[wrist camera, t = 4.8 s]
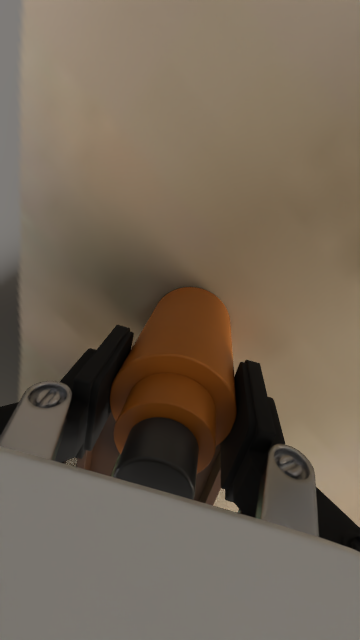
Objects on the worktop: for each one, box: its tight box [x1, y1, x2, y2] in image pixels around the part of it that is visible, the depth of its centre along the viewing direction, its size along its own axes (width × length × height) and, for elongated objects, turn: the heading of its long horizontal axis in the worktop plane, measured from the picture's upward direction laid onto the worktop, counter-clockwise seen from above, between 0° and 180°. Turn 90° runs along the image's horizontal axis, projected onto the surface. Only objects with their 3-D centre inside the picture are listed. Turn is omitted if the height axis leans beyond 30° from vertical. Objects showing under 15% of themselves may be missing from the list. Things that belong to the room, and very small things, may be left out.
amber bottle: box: [110, 287, 237, 500], centre depth 12 cm, size 5×5×10 cm
